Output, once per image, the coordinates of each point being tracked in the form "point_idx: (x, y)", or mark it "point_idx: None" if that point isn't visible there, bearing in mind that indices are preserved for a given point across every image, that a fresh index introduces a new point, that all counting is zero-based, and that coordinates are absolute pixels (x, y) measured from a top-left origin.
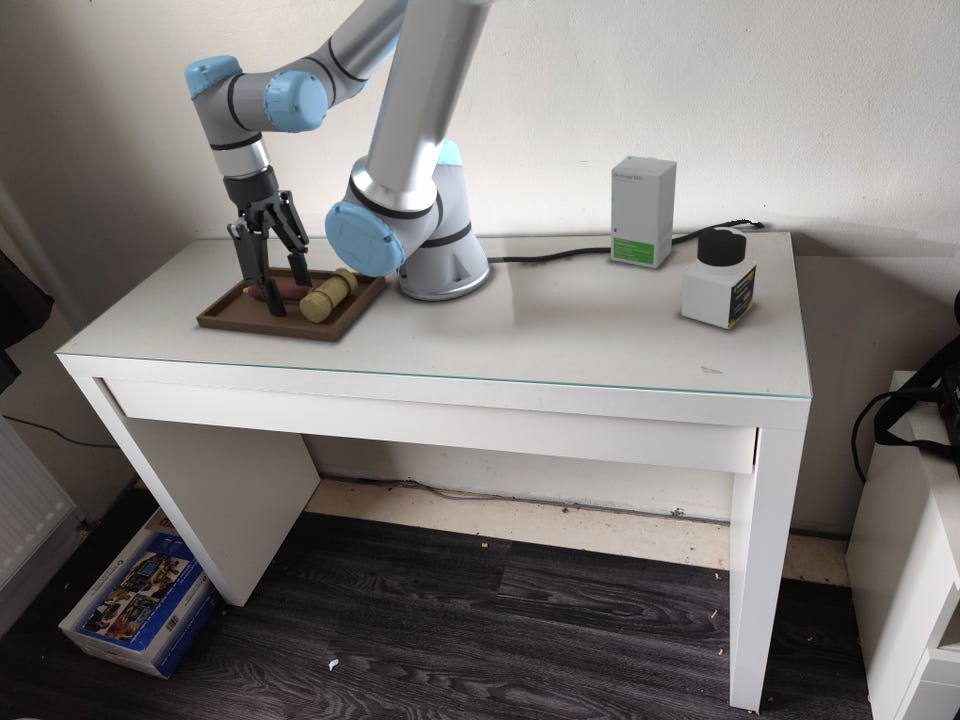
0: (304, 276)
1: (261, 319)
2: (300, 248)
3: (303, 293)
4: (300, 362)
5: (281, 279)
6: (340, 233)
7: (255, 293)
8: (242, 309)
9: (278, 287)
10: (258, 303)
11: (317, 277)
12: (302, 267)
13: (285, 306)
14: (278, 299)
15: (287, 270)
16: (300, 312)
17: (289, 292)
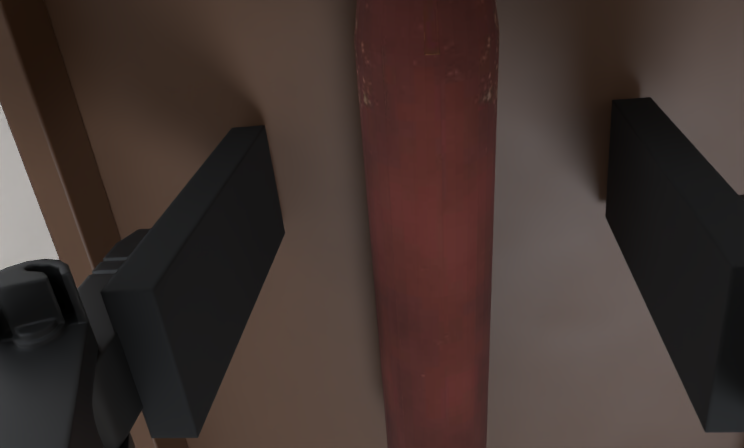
0: (233, 198)
1: None
2: (50, 352)
3: (484, 15)
4: None
5: (208, 416)
6: None
7: (484, 440)
8: (572, 434)
9: (448, 308)
10: (489, 387)
11: (98, 197)
12: (201, 233)
13: None
14: (697, 157)
15: None
16: (552, 12)
17: (483, 177)
